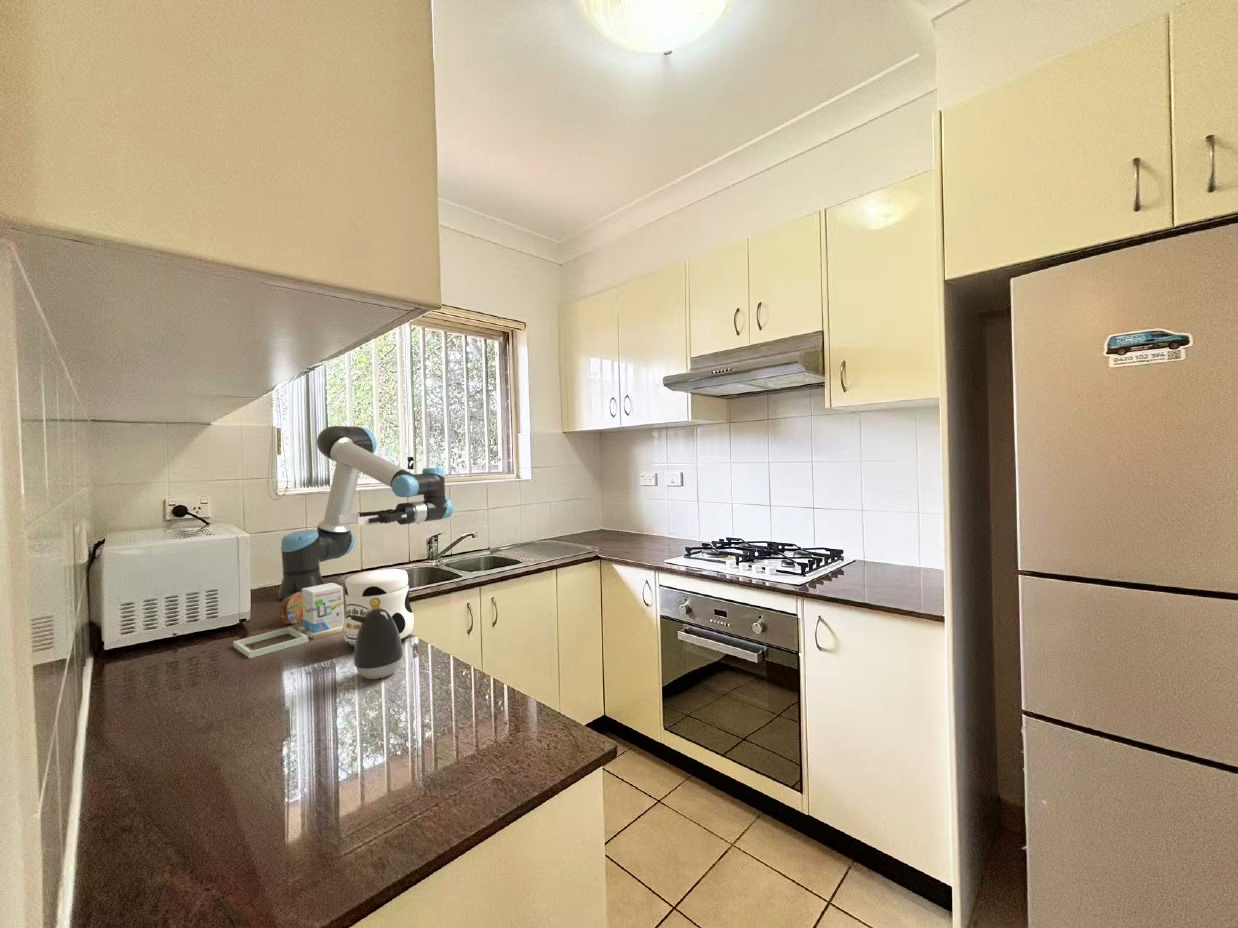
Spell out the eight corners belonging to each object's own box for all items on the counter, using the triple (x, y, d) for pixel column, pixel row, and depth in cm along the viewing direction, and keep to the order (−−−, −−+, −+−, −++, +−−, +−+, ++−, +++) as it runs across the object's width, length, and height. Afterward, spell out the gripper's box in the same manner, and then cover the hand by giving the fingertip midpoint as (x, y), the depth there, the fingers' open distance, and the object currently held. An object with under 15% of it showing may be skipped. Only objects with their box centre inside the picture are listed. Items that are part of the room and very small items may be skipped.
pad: (297, 630, 150) (297, 627, 150) (334, 621, 158) (333, 618, 158) (314, 639, 142) (313, 635, 142) (351, 628, 150) (351, 625, 150)
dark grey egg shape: (357, 669, 120) (354, 605, 120) (405, 662, 124) (402, 600, 123) (349, 688, 111) (346, 618, 110) (401, 679, 114) (398, 612, 114)
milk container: (335, 658, 128) (331, 586, 128) (353, 634, 145) (350, 571, 145) (409, 649, 132) (405, 580, 132) (418, 627, 149) (415, 566, 149)
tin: (288, 627, 153) (286, 599, 153) (278, 627, 154) (276, 600, 153) (318, 611, 168) (317, 586, 168) (309, 612, 169) (308, 586, 168)
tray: (233, 646, 139) (233, 641, 139) (290, 632, 149) (290, 626, 149) (249, 658, 130) (249, 652, 130) (308, 641, 141) (308, 636, 140)
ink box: (313, 633, 144) (311, 592, 144) (302, 627, 150) (300, 588, 149) (345, 625, 150) (343, 585, 150) (334, 619, 156) (332, 581, 156)
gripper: (429, 525, 174) (366, 535, 157) (393, 521, 189) (332, 529, 173) (428, 503, 174) (365, 510, 157) (392, 501, 189) (331, 507, 173)
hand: (347, 520), depth 165 cm, fingers open, 13 cm apart
